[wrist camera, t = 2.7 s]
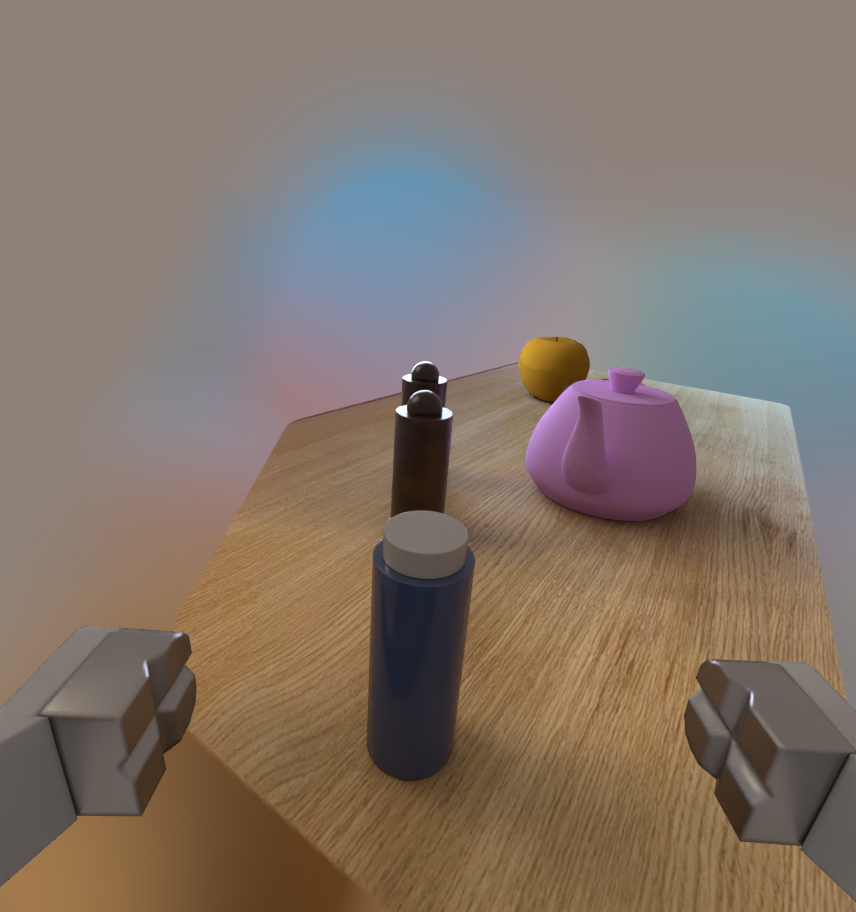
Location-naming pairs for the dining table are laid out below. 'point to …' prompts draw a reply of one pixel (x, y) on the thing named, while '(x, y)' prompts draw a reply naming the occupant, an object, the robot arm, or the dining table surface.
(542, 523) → the dining table surface
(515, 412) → the dining table surface
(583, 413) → the teapot
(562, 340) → the apple
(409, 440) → the near mill
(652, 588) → the dining table surface
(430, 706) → the blue shaker
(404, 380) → the far mill
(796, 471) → the dining table surface
